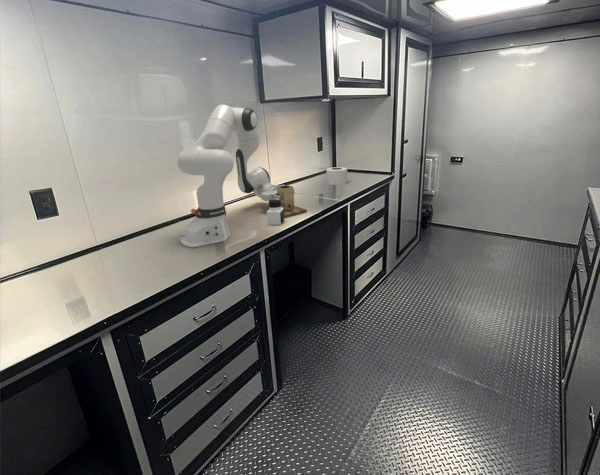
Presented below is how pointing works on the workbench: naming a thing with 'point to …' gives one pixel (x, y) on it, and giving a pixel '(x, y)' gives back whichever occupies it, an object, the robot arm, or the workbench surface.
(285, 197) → the sleeve
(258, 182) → the robot arm
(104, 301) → the workbench surface
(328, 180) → the white paper roll
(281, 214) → the medicine bottle
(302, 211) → the post board
